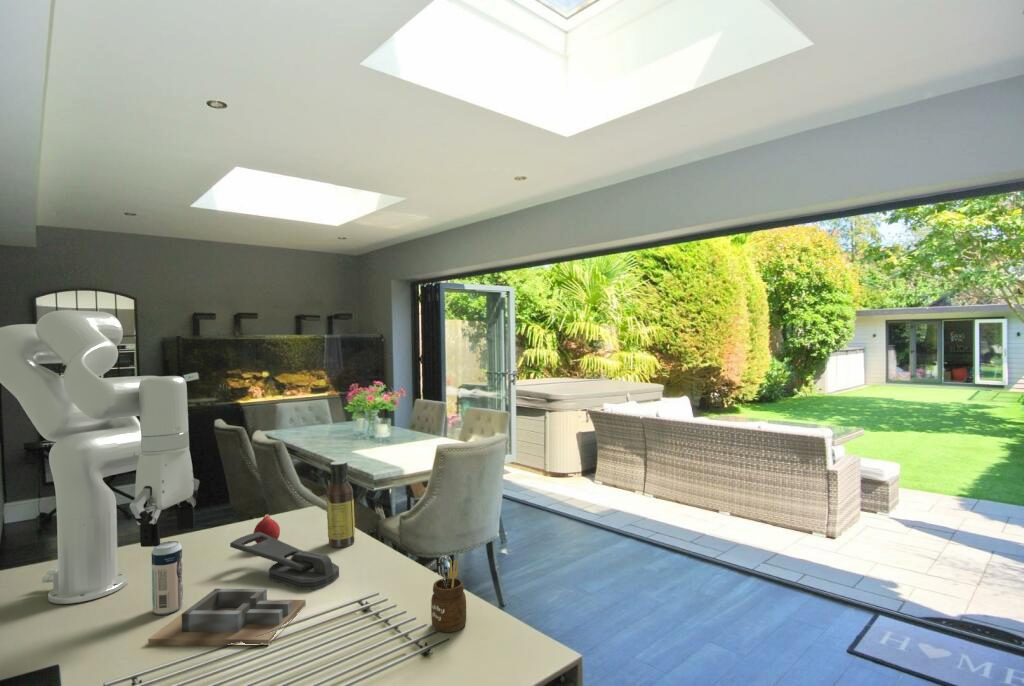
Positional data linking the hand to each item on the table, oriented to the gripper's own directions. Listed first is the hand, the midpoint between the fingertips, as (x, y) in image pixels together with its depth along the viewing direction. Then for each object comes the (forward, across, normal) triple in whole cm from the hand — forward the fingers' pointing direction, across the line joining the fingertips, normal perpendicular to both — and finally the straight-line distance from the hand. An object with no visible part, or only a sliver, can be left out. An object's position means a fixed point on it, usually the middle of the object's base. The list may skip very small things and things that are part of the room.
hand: (169, 536), depth 103 cm
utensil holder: (+15, +5, +52) cm, 54 cm away
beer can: (+14, 0, -1) cm, 14 cm away
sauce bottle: (+14, -34, +19) cm, 42 cm away
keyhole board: (+14, +5, +14) cm, 20 cm away
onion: (+14, -31, +2) cm, 34 cm away
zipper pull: (+14, -16, +14) cm, 25 cm away
